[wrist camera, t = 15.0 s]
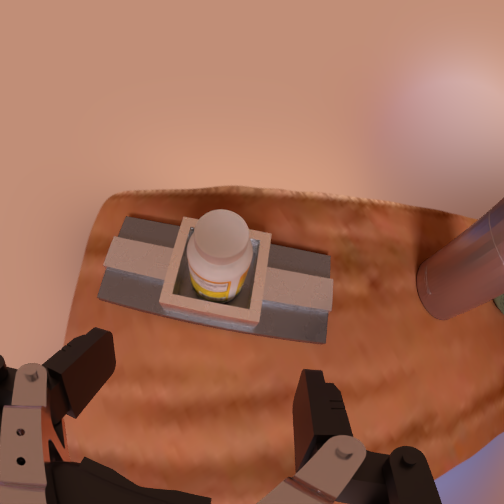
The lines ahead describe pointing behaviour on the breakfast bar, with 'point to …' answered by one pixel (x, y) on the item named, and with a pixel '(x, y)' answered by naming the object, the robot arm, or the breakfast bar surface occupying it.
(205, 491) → the breakfast bar surface
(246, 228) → the supplement bottle
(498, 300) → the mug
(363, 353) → the breakfast bar surface
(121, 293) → the rail collar
